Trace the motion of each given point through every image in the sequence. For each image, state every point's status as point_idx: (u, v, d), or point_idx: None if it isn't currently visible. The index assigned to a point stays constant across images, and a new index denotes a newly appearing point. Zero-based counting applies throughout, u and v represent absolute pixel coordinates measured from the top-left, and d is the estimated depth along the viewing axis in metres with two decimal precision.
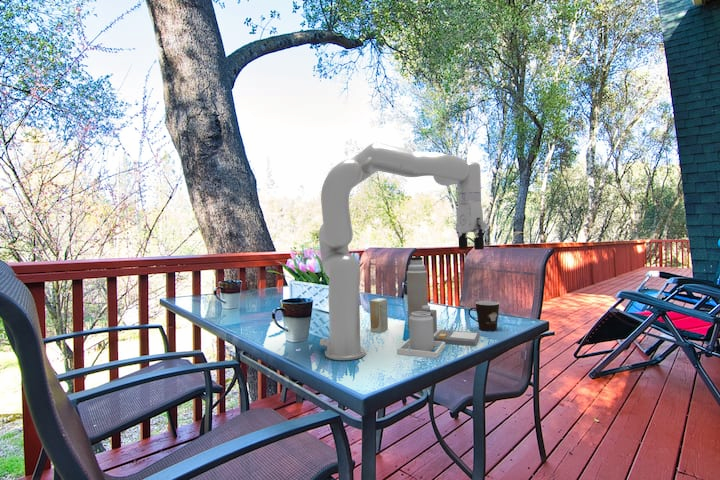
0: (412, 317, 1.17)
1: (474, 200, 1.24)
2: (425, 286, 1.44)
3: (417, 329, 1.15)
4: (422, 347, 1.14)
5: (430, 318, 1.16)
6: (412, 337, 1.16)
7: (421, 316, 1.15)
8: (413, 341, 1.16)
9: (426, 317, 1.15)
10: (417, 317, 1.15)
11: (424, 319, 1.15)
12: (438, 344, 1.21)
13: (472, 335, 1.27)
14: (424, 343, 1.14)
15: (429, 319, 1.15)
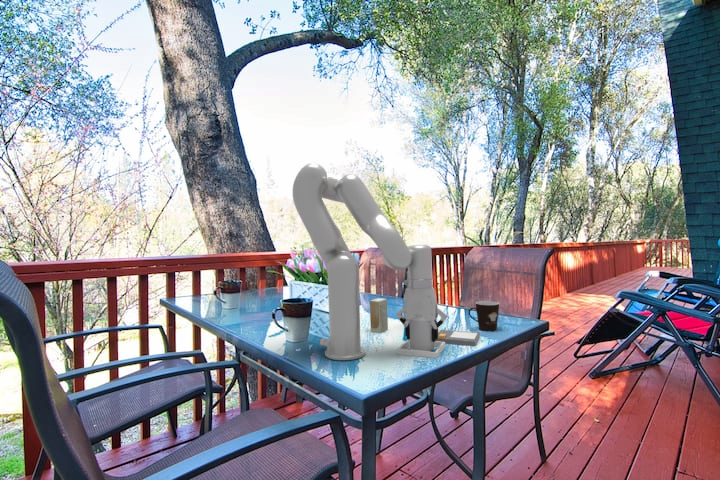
0: None
1: (431, 287, 1.16)
2: None
3: (417, 329, 1.15)
4: (422, 347, 1.14)
5: None
6: (412, 337, 1.16)
7: (421, 316, 1.15)
8: (413, 341, 1.16)
9: None
10: (417, 317, 1.15)
11: (424, 319, 1.15)
12: (438, 344, 1.21)
13: (472, 335, 1.27)
14: (424, 343, 1.14)
15: None
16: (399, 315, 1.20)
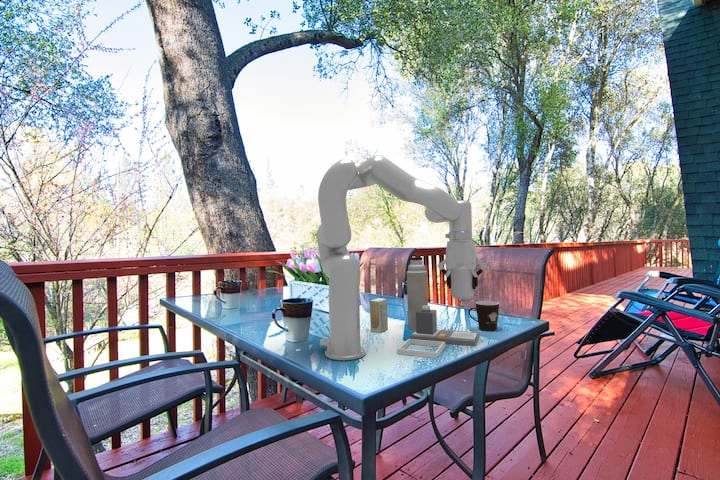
0: (454, 267, 1.27)
1: (471, 238, 1.26)
2: (425, 286, 1.44)
3: (459, 277, 1.25)
4: (464, 293, 1.24)
5: None
6: (454, 285, 1.26)
7: (462, 265, 1.25)
8: (455, 288, 1.26)
9: None
10: (459, 266, 1.25)
11: (465, 268, 1.25)
12: (438, 344, 1.21)
13: (472, 335, 1.27)
14: (465, 290, 1.24)
15: None
16: (440, 266, 1.30)
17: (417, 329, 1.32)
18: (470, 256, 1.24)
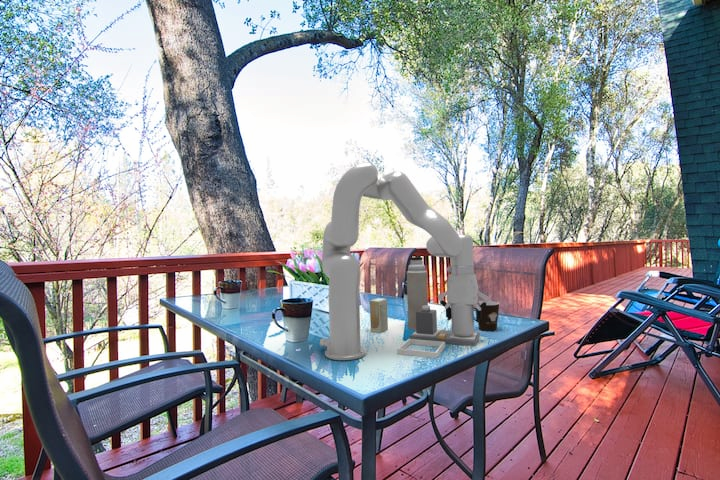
0: None
1: (473, 273, 1.26)
2: (425, 286, 1.44)
3: (460, 314, 1.25)
4: (464, 330, 1.25)
5: None
6: (455, 322, 1.26)
7: None
8: (456, 325, 1.26)
9: None
10: (459, 303, 1.26)
11: (466, 305, 1.25)
12: (438, 344, 1.21)
13: (472, 335, 1.27)
14: (466, 327, 1.25)
15: (470, 305, 1.26)
16: (440, 298, 1.31)
17: (417, 329, 1.32)
18: (471, 291, 1.24)
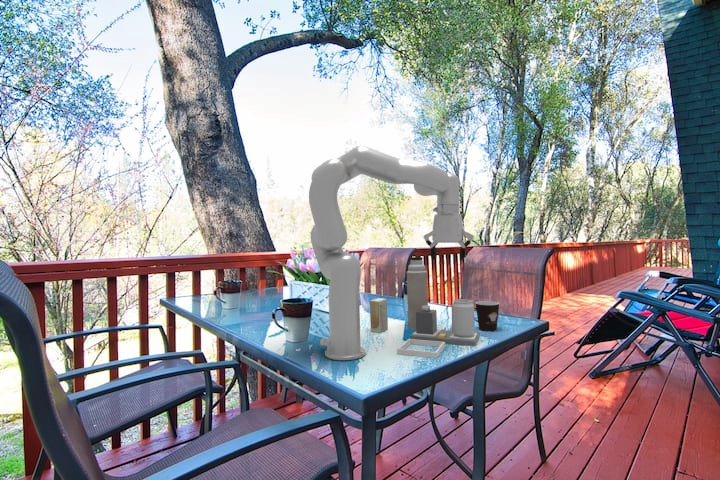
0: (455, 304, 1.27)
1: (458, 212, 1.28)
2: (425, 286, 1.44)
3: (460, 315, 1.25)
4: (465, 331, 1.24)
5: (472, 305, 1.26)
6: (455, 322, 1.26)
7: (464, 303, 1.25)
8: (456, 326, 1.26)
9: (468, 304, 1.25)
10: (460, 304, 1.25)
11: (466, 306, 1.25)
12: (438, 344, 1.21)
13: (472, 335, 1.27)
14: (466, 328, 1.24)
15: (471, 306, 1.25)
16: (426, 238, 1.33)
17: (417, 329, 1.32)
18: (456, 228, 1.27)
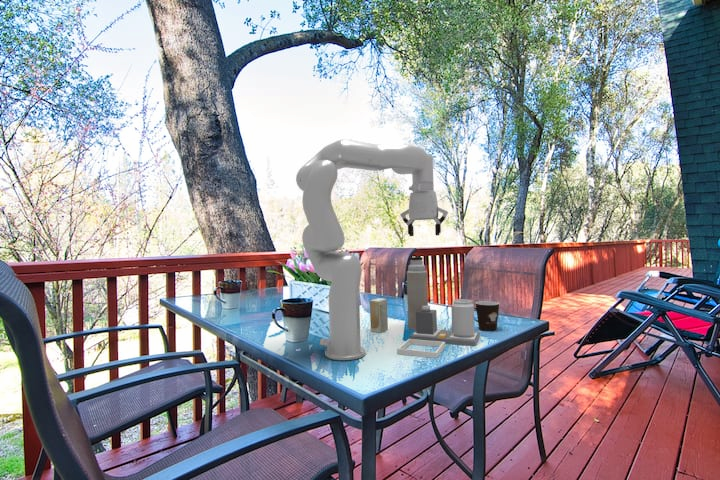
0: (455, 304, 1.27)
1: (432, 189, 1.34)
2: (425, 286, 1.44)
3: (460, 315, 1.25)
4: (465, 331, 1.24)
5: (472, 305, 1.26)
6: (455, 322, 1.26)
7: (463, 303, 1.25)
8: (456, 326, 1.26)
9: (468, 304, 1.25)
10: (460, 304, 1.25)
11: (466, 306, 1.25)
12: (438, 344, 1.21)
13: (472, 335, 1.27)
14: (466, 328, 1.24)
15: (471, 306, 1.25)
16: (403, 216, 1.38)
17: (417, 329, 1.32)
18: (431, 205, 1.32)
